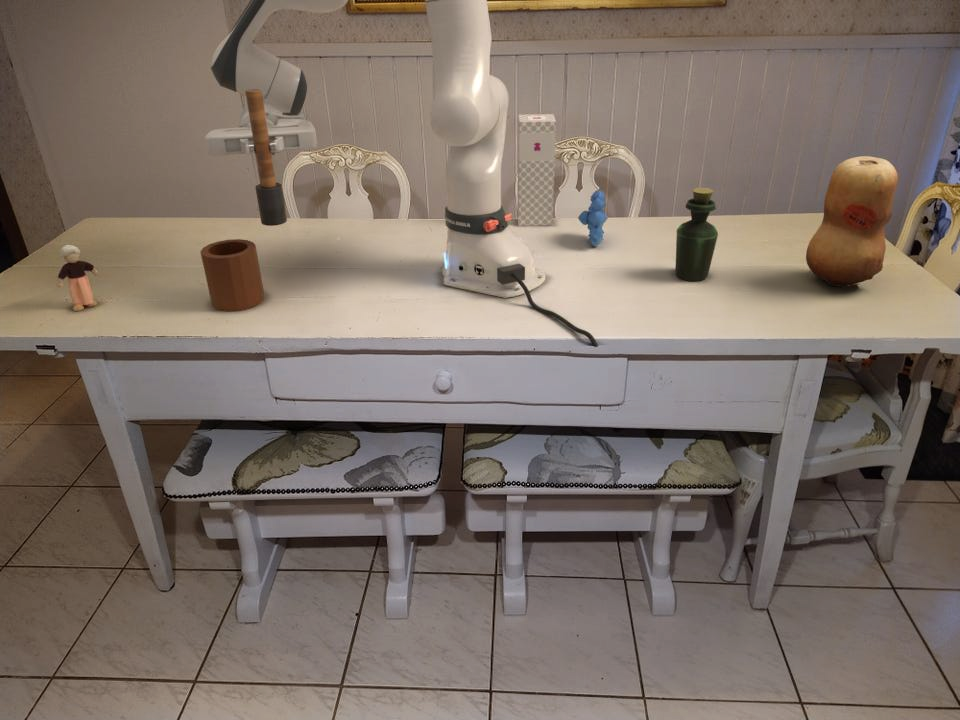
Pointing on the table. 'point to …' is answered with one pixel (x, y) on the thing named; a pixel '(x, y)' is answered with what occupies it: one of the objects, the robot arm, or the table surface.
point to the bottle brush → (265, 164)
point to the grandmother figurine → (77, 277)
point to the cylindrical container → (233, 274)
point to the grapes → (595, 218)
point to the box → (536, 169)
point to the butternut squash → (854, 222)
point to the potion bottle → (696, 238)
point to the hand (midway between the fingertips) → (262, 149)
